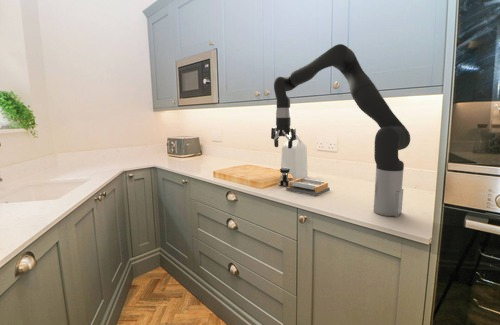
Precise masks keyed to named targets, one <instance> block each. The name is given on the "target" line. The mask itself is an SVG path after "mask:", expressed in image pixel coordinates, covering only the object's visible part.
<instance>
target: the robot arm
mask: <svg viewBox="0 0 500 325" xmlns="http://www.w3.org/2000/svg"><path fill="white" fill-rule="evenodd" d="M330 67H333V68H335V69H337V70H338V71H339V72H340V73H341V75H342V76H343V77H344V78H345V79H346V81H347V83H348V87H349V91H350V95H351V97H352V98H353V101H354V102H355V103H356V105H357V107H358V108H359V109H360V110H361V111H362V112H363V113H364V114H365V115H366V116H368V117H369V118H371V119H372V120H373V121H374V122H375V123H376V124H377V125H378V127H379V128H380V129H378V130H377V132H376V134H375V137H374V162H375V164H376V165H375V166H376V168H375V179H374V180H375V184H374V197H373V198H374V199H373V212H374V213H375V214H377V215H380V216H386V217H396V218H397V217H399V216H400V215H401V214H402V211H403V199H404V188H403V180H404V168H405V163H404V161H402V160H401V159H400V158H399V151H401V150H404V149H406V148H408V147H409V146H410V142H411V134H410V132H409V130H408V129H407V127H406V126H405V125H404V124H403V123H402V121H401V120H400V119H399V118H398V117H397V116H396V115H395V112H393V111H392V109H391V107H390V106H389V105H388V103H387V102H386V100H385V98H384V97H383V96H382V94H381V93H380V91H379V90H378V88H377V86H376V85H375V84H374V82H373V81H372V79H371V78H370V77H369V76H368V75H367V73H366V72H365V71H364V70H363V68H362V66H361V64H360V62H359V60H358V58H357V56H356V54H355V52H354V51H353V50H352V49H351V48H349V47H348V46H346V44H342V43H338V44H335V45H334V46H332V47H331V48H329V49H328V50H327V51H325V52H324V53H322V54H321V55H320V56H318V57H317V58H315V59H313V60H312V61H310V62H309V63H308V64H306V65H304V66H302V67H299V68H298V69H296V70H294V71H292V72H291V73H290V75H289V76H278V77H276V78H275V80H274V82H273V91H274V94H275V99H276V111H275V112H276V113H275V126H276V127H271V133H270V134H271V135H270V139H271V140H273V141H274V142H273V143H274V144H273V146H274V147H275V148H278V147H279V139H280V138H281V137H283V138H284V137H285V138H286V139H287V140H288V148H292V141H293V140H296V135H297V133H296V132H297V130H296V128H291V114H292V112H291V98H290V96H288V95H287V92H291V91H292V90H294V89H296V88H297V87H298V86H300V85H302V84H304V83H306V82H307V83H308V82H309V81H310V80H312V79H313V78H314V77H315V76H316V75H317V74H318V73H319V72H321V71H322V70H324V69H327V68H330Z"/></svg>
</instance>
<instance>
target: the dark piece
mask: <svg viewBox="0 0 500 325" xmlns="http://www.w3.org/2000/svg"><path fill="white" fill-rule="evenodd" d="M289 170H290V169H288V167H282V168H281V167H280V168H279V172H280V174H281V173H282V177H281V179H280V182H277V184H278V185H279V186H281V187H284V186H285V187H288V182H290V179H288V173H289ZM286 173H287V175H286Z"/></svg>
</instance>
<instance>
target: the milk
mask: <svg viewBox="0 0 500 325" xmlns="http://www.w3.org/2000/svg"><path fill="white" fill-rule="evenodd" d="M300 137H301V136H300V135H299V134H296V140H293V141H292V148H288V139H287V140H286V141H285V142H284V144H283V145H282V146H281V147H282V148H281V162H280V163H281V164H280V169H281V168H282V167H288V169H290V170H289V173H288V174H291V175H292V176H293V179H292V181H293V180H296V179H299V178H305V179H306V178H308V174H309V172H308V156H307V155H308V151H307V146H306V144H305V142H303V141H302V140H301V138H300Z"/></svg>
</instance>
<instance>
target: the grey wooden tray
mask: <svg viewBox="0 0 500 325" xmlns="http://www.w3.org/2000/svg"><path fill="white" fill-rule="evenodd" d="M291 181H292V182H291V186H297V187H302V188H307V189H313V190H315V187H316V186H318V185H321V184H323V183H326V182H325V181H323V180H316V179H311V178H306V177H305V178H301V181H300V182H293V180H291Z"/></svg>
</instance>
